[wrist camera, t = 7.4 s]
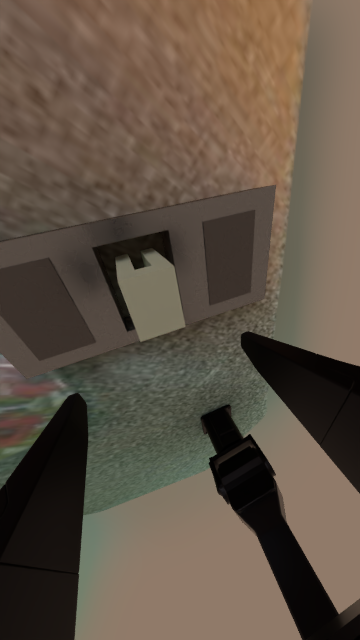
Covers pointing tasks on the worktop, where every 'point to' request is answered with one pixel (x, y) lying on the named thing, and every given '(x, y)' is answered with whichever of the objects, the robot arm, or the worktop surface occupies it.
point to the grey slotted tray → (95, 286)
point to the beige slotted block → (151, 294)
